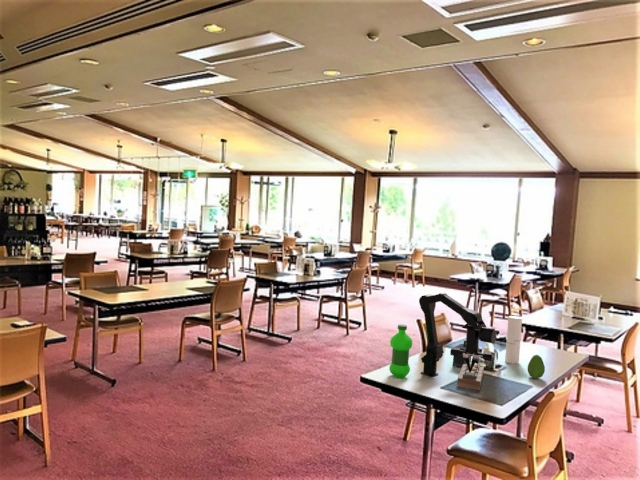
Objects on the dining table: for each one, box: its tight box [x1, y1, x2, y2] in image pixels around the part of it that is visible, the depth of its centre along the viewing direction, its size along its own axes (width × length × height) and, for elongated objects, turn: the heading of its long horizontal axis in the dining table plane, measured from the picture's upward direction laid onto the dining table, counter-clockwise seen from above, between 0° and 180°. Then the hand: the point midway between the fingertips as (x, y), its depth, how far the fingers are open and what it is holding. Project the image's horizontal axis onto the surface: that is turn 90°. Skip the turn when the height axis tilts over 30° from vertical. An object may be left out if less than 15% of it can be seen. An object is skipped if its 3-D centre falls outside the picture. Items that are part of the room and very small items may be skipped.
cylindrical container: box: [504, 315, 523, 364], centre depth 289 cm, size 7×7×25 cm
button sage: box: [466, 371, 475, 376], centre depth 244 cm, size 4×4×2 cm
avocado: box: [527, 354, 546, 380], centre depth 261 cm, size 8×8×12 cm
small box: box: [452, 343, 472, 369], centre depth 276 cm, size 11×6×10 cm, turn 143°
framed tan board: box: [456, 363, 485, 391], centre depth 252 cm, size 26×10×6 cm, turn 159°
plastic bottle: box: [389, 324, 413, 379], centre depth 251 cm, size 10×10×25 cm
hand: (470, 371), depth 244 cm, fingers closed, pressing on button sage
